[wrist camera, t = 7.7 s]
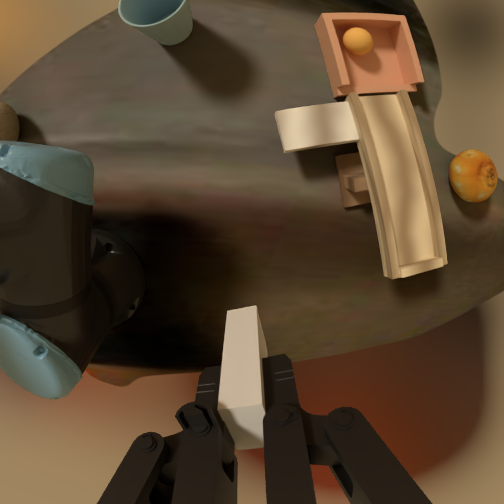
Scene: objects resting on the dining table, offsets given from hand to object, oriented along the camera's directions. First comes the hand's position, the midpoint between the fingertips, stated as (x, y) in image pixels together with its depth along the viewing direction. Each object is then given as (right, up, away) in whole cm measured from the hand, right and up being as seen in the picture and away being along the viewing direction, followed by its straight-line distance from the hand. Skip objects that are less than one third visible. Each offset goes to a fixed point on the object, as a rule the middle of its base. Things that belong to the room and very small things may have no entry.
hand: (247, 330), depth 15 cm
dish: (+16, +30, +17) cm, 38 cm away
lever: (+13, +12, +18) cm, 26 cm away
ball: (+14, +31, +15) cm, 37 cm away
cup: (-10, +34, +16) cm, 39 cm away
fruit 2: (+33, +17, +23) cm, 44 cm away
